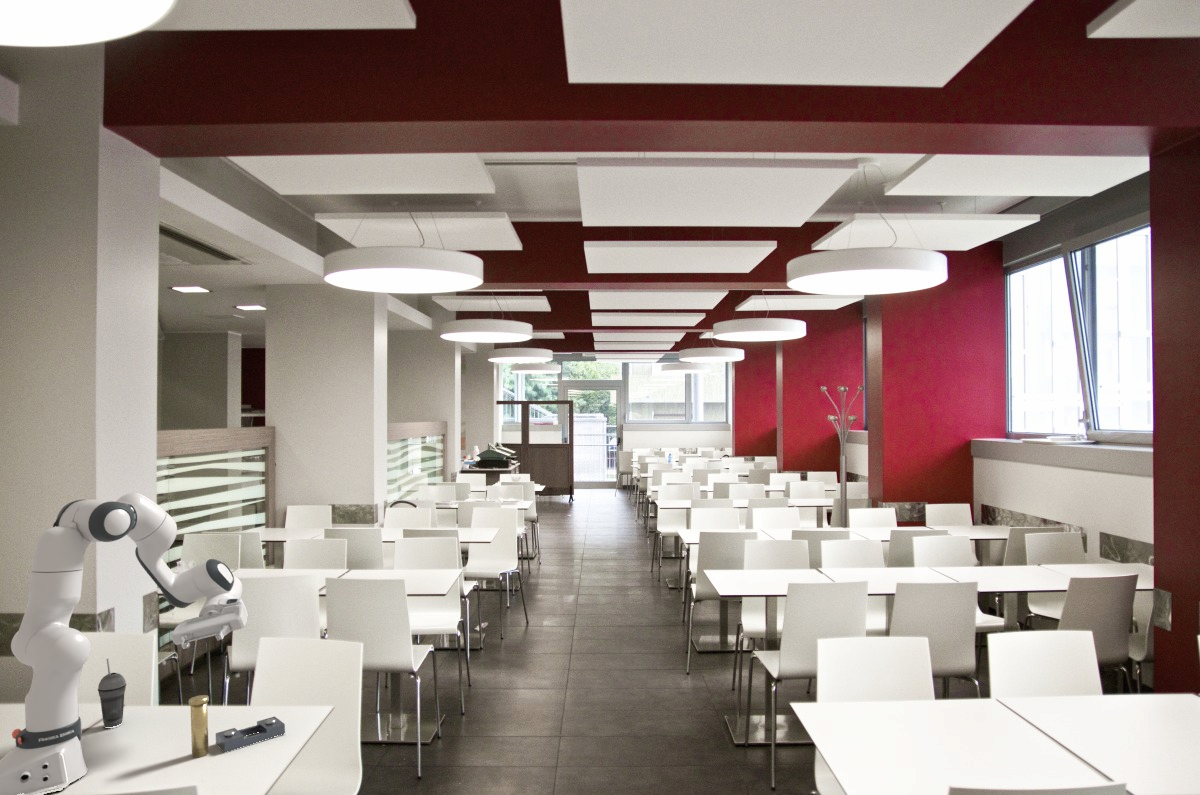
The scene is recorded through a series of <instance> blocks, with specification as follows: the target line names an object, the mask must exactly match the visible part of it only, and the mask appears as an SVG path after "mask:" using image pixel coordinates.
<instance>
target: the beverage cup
mask: <svg viewBox="0 0 1200 795" xmlns="http://www.w3.org/2000/svg"><path fill="white" fill-rule="evenodd" d="M106 664H107V665H106V666H107V674H106V675H105V676H103V677H102V678H101V679H100V682H99V683H98V686H97V687H98V688H97V691H98V696H99V699H100V700H99V701H100V706H101V713H102V714H101V715H102V723H103V727H104V726H105V727H113V726H117V725H119V724H121V723H122V724H123V719H124V709H125V708H124V704H125V694H126V687H127V681H126V679H125V677H124V676H123V675H122V674H121V673H118V672H111V667H110V660H109V658H106Z"/></svg>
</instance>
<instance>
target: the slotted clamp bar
mask: <svg viewBox="0 0 1200 795" xmlns="http://www.w3.org/2000/svg"><path fill="white" fill-rule="evenodd" d="M285 727H286V725H285V723H284V722H283V721H282V720H280V719H279V718H277V717H276V716H270V717H268V718H265V719H261V720H258V721H256V725H252V726H249V727H245V728H242V729H239V730H238V729H236V728H235V727H233V728H229V729H225V730H223V731H218V732H216V733H215V745H216V744H217V745H218V746H219V747H220V748H221V749H222V750H223V751H224V752H226V753H228V752H227V751H229V752H231V751H230V750H233V751H235V750H234V749H236V750H238V749H237V748H239V749H241V748H240V747H242V748H244V747H243V746H246V745H249V746H251V745H250V744H252V745H254V744H253V743H256V742H259V741H262V740H265V739H268V738H271V737H274V736H277V735H281V734H284V733H285V734H286V728H285ZM257 732H259V733H260V734H259V733H257ZM253 733H257V734H253ZM249 734H253V735H250V736H247V737H244V736H246V735H249ZM262 742H263V741H262ZM259 743H260V742H259ZM256 744H257V743H256ZM217 745H216V746H217ZM219 747H218V748H219ZM246 747H247V746H246ZM220 748H219V749H220ZM221 749H220V750H221ZM222 750H221V751H222ZM223 751H222V752H223ZM224 752H223V753H224Z"/></svg>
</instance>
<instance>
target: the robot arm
mask: <svg viewBox="0 0 1200 795" xmlns="http://www.w3.org/2000/svg"><path fill="white" fill-rule="evenodd" d="M177 535H178V525H177V522H176V521H175V519H174V518H173V516H171V515H170V514H169V513H168V512H167V511H166V510H164V508H162V507H161V506H160V505H159V504H158V503H156V502H155V501H153V500H152V499H150V498H148V497H147V496H145V495H143V494H142V493H140V492H129V493H126V494H124V495H122V496H120V497H119V498H118V499H116V501H109V500H103V499H98V498H97V499H95V498H92V499H91V498H90V499H85V498H84V499H77V500H73V501H70V502H68V503H66V504H65V505H64V506H63V507H62V508H61V510H59V512H58V514H57V517H56V520H55V521H54V522H53V524H52V527H49V528H48V529H46V530H44V531H43V532H41V533H40V535H39V536H38V540H37V541H36V545H35V548H34V552H33V556H32V562H31V571H30V580H29V581H30V582H29V589H28V597H27V598H28V599H27V604H26V609H25V612H24V614H23V616H22V620H21V623H20V626H19V629H18V631H17V632H16V633H15V634H14V636H13V637H12V639H11V643H10V650H11V653H12V654H13V655H14V657H15V659H17V660H18V661H19V662H20V663H21V664H23V665H24V666H28V667H32V672H33V675H32V680H31V684H30V688H29V691H28V693H26V695H25V697H24V713H25V714H24V716H25V722H24V723H25V727H24V729H20V728H16V729H14V730H13V731H12V732H11V736H12V738H13V739H15V747H14V748H12V749H11V751H9V752H8V753H7V754H5V756H3V757H2V758H1V759H0V795H17V794H20V793H21V794H22V793H24V794H25V795H26V794H27V795H33V794H37V793H42V792H47V791H51V790H55V789H59V788H62V787H64V786H65V785H66V784H67V783H68V782H70V781H72V780H74V779H76V778H78V777H80V776H81V775H83V774H84V773H85V772H86V771H87V769H88V767H87V764H86V762H85V758H84V753H83V750H82V743H81V740H82V735H83V731H82V730H83V729H82V728H83V727H82V721H81V720H82V719H81V717H80V715H79V689H80V688H79V685H80V680H81V675H82V670H83V668H84V665H85V664H86V662H88V660H89V657H90V656H91V652H92V644H91V641H90V640H89V638H87V636H86V635H84V633H82V632H81V631H80V630H78V629H76V628H72V627H70V620H71V617H72V615H73V612H74V610H75V607H76V606H77V604H78V603H79V602H80V600H81V598H82V588H83V579H84V578H83V577H84V576H83V575H84V563H85V561H84V560H85V553H86V550H87V548H88V547H89V546H90V543H91V542H97V543H99V542H102V543H109V542H110V543H111V542H115V541H118V540H120V539H122V538H124V537H126V536H127V537H128V538H130V539H131V540H132V541H133V542H134V543H135V545H136V547H135V550H134V551H135V553H134V554H135V557H136V559H137V561H138V563H139V564H140V566H141V567H142V568H143V569H144V571H145V572H146V573H147V574H148V576H149V577H150V578H151V580H152V581H153V583H155V585H157V587H158V588H159V590H160V591H161V592H162V595H163V596H164V598H165V600H166V601H167V603H168V604H169V605H171V606H173V607H175V608H180V609H185V608H187V607H189V606H190V605H193V604H194V603H195V602H197V601H199V600H200V599H201V600H202V598H205V597H206V600H205V602H204V604H203V606H202V608H201V609H200V611H199V613H198V616H196V617H193V618H188V619H185V620H183V621H180V622H179V623H178V624H177V625H176V627H175V628H174V629H173V630H172V632H171V633H170V638H171V641H172V642H173V644H174V645H176V646H179V645H180V646H181V648H182V649H183V650H185V649H190V646H191V642H193V641H194V642H195V641H199V640H202V639H206V638H210V637H215V639H216V641H220V640H221V641H222V640H223V639H224V637H225V636H227V635H228V634H229V633H231V632H233V631H238V630H241V629H243V628H245V627H246V625H247V622H248V617H249V613H248V612H249V611H248V610H247V607H246V604H245V603H244V601H243V599H242V595H243V583H242V581H241V580H240V578H238V577H237V576H235V575H233V572H232V571H231V569H230V568H229V567H228V565H226V564H225V563H224V562H223V561H220V560H219V559H214V558H210V559H208V560H205V561H204V562H201V563H199V564H197V565H195V566H194V567H191V568H190V569H187V570H185V571H182V572H180V573H179V572H178V573H174V572H173V571H172V570H171V569H170V567H169V566H168V565H167V563H166V562H165V561H164V559H163V558H162V556H163V555H164V554H165V553H166V552H167V551H168V550H169V549H170V548H171V547H172V545H173V543H174V542H175V540H176V538H177ZM54 786H57V787H56V788H54V789H49V788H51V787H54Z"/></svg>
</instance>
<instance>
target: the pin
mask: <svg viewBox="0 0 1200 795" xmlns="http://www.w3.org/2000/svg"><path fill="white" fill-rule="evenodd" d="M209 701H210V699H209V695H207V694H203V695H202V694H201V695H196V696H192V697H190V698H189V699H188V705H189V706H190V735H191V738H190V739H191V757H192V758H195V759H196V758H197V759H199V758H204V757H206V756H208V755H209V753H210V752H209V750H210V749H209V746H210V745H209V716H208V714H209V713H208V702H209Z"/></svg>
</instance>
